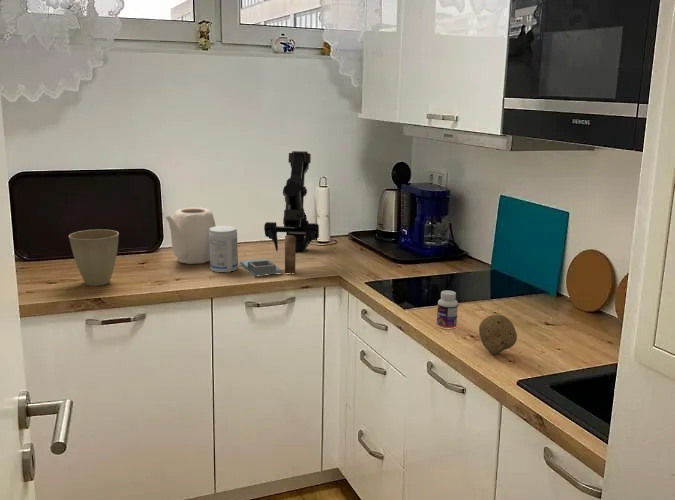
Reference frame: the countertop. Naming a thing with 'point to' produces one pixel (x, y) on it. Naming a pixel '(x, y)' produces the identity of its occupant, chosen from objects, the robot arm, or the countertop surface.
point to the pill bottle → (447, 310)
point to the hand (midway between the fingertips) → (290, 250)
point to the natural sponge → (497, 333)
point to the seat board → (260, 267)
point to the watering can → (191, 234)
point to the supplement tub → (223, 248)
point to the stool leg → (290, 253)
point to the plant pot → (95, 254)
